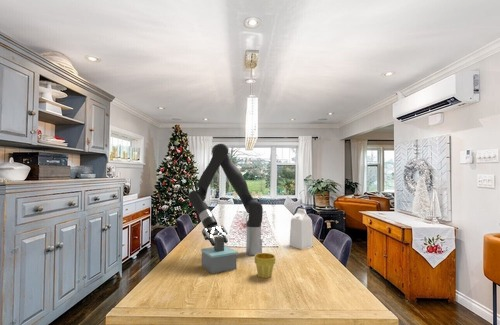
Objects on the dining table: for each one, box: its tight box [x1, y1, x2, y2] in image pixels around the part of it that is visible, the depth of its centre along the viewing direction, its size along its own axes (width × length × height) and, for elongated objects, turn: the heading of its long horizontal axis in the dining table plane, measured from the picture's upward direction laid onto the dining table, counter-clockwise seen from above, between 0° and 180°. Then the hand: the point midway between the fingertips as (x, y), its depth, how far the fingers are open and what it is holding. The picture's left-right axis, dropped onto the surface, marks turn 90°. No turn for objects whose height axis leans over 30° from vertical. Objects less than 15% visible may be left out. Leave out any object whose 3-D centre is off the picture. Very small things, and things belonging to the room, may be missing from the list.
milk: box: [289, 208, 314, 250], centre depth 194 cm, size 12×12×26 cm
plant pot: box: [254, 252, 276, 279], centre depth 137 cm, size 10×10×10 cm
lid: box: [200, 235, 239, 258], centre depth 148 cm, size 15×15×9 cm
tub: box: [201, 251, 238, 275], centre depth 148 cm, size 14×14×8 cm
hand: (220, 243), depth 147 cm, fingers open, 8 cm apart
